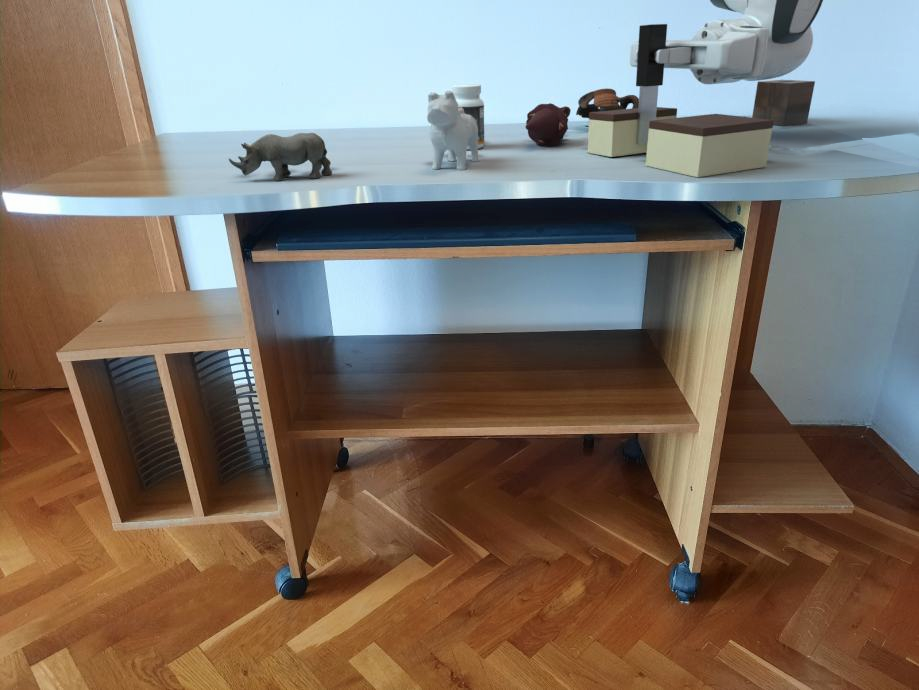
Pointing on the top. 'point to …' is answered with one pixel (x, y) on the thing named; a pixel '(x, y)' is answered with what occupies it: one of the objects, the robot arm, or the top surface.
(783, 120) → the knife block
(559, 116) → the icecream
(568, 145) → the top surface
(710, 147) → the cake
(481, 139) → the pill bottle
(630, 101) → the pottery mug
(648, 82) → the knife
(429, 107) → the dog figurine
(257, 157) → the rhino figurine
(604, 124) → the cake slice
